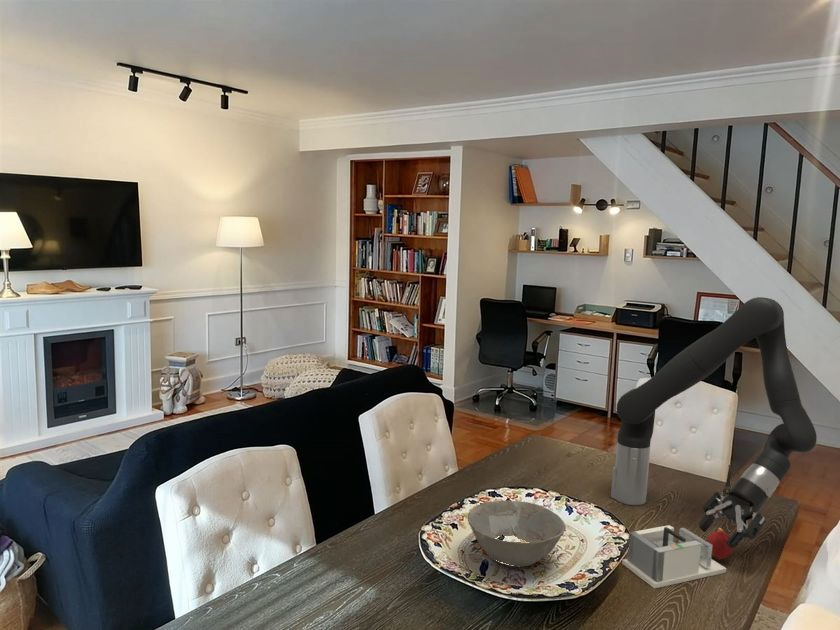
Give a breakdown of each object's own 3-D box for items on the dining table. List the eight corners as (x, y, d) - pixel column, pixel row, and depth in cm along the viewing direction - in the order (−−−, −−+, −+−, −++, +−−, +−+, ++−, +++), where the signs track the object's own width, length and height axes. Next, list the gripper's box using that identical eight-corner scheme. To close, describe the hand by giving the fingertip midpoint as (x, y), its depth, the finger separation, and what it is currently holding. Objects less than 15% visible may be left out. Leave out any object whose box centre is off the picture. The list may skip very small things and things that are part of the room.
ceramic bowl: (575, 584, 140) (577, 542, 138) (473, 585, 138) (475, 543, 137) (548, 535, 161) (550, 499, 160) (460, 536, 160) (461, 499, 158)
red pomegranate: (729, 555, 154) (733, 525, 152) (732, 567, 148) (736, 536, 147) (704, 550, 156) (707, 520, 154) (706, 562, 150) (709, 531, 149)
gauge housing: (690, 549, 156) (693, 518, 155) (726, 572, 146) (729, 539, 145) (622, 563, 149) (624, 530, 147) (654, 588, 138) (657, 553, 137)
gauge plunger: (681, 548, 154) (684, 514, 152) (714, 569, 144) (717, 533, 143) (645, 556, 150) (648, 520, 148) (676, 578, 140) (679, 540, 139)
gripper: (724, 467, 159) (685, 516, 156) (773, 489, 145) (731, 543, 143) (738, 484, 161) (699, 533, 159) (787, 508, 148) (746, 561, 145)
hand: (714, 537), depth 151 cm, fingers open, 8 cm apart
